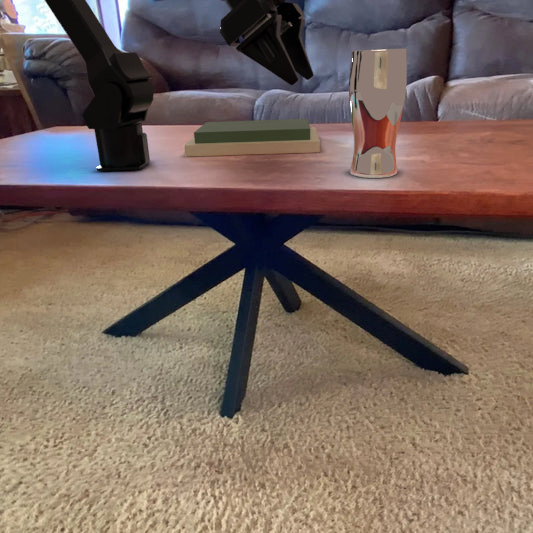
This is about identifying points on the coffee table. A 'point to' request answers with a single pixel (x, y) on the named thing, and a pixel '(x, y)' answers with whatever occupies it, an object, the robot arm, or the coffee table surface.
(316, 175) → the coffee table surface
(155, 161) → the coffee table surface
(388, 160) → the beer glass
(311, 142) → the book stack
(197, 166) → the coffee table surface
